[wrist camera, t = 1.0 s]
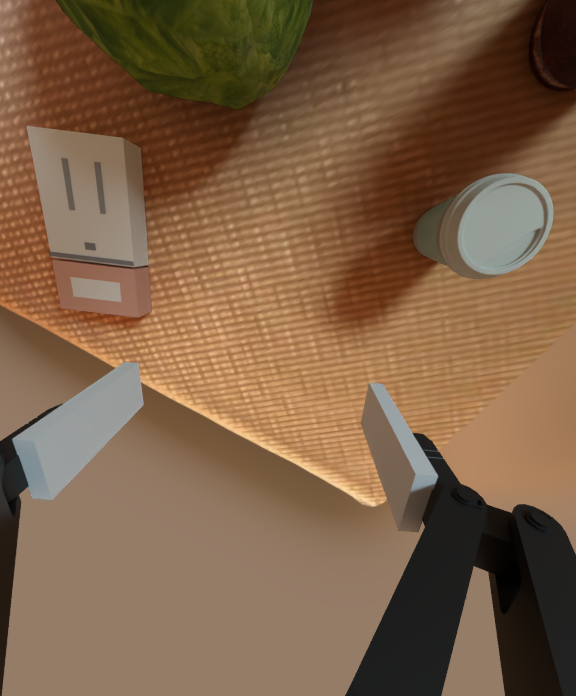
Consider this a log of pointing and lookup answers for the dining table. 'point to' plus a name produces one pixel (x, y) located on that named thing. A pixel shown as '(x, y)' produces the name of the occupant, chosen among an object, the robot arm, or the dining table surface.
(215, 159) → the dining table surface
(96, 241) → the two-slot toaster
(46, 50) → the dining table surface
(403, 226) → the dining table surface
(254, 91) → the lettuce
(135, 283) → the stub
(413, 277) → the dining table surface
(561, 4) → the vase
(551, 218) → the coffee cup
